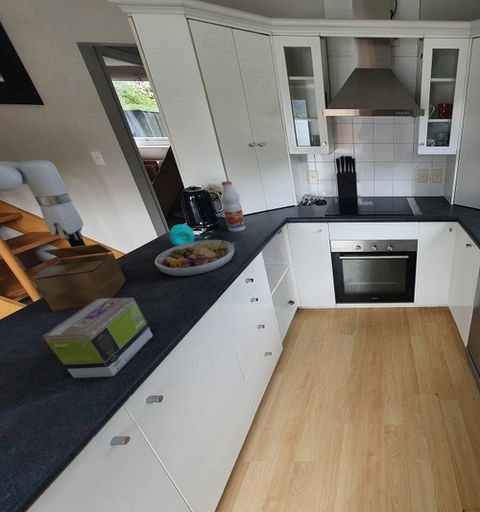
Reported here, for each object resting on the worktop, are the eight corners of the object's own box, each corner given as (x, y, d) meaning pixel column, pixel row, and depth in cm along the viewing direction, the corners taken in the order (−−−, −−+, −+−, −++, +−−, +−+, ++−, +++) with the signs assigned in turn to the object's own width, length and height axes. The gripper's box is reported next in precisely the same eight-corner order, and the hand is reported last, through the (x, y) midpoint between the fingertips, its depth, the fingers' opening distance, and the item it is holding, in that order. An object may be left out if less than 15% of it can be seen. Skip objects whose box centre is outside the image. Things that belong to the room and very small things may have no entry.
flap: (42, 251, 92) (43, 250, 92) (60, 258, 99) (60, 257, 99) (99, 244, 97) (99, 243, 97) (112, 252, 104) (112, 251, 104)
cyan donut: (173, 249, 136) (167, 231, 132) (173, 243, 144) (166, 225, 139) (197, 245, 142) (191, 227, 137) (195, 239, 149) (190, 221, 145)
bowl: (155, 260, 126) (149, 244, 123) (226, 243, 144) (222, 230, 141) (163, 287, 106) (156, 270, 103) (244, 264, 124) (240, 249, 121)
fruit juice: (245, 225, 169) (235, 180, 157) (246, 230, 162) (235, 183, 149) (228, 227, 166) (217, 181, 153) (228, 233, 158) (216, 184, 146)
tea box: (119, 337, 82) (97, 296, 75) (154, 336, 83) (135, 296, 76) (71, 379, 69) (39, 334, 62) (113, 377, 69) (87, 333, 63)
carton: (52, 311, 92) (31, 278, 86) (77, 287, 105) (60, 257, 99) (109, 302, 97) (92, 269, 91) (125, 280, 110) (112, 251, 104)
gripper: (52, 195, 95) (77, 243, 103) (23, 206, 83) (54, 260, 91) (80, 193, 98) (103, 240, 106) (56, 204, 86) (83, 256, 94)
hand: (80, 249), depth 99 cm, fingers closed
